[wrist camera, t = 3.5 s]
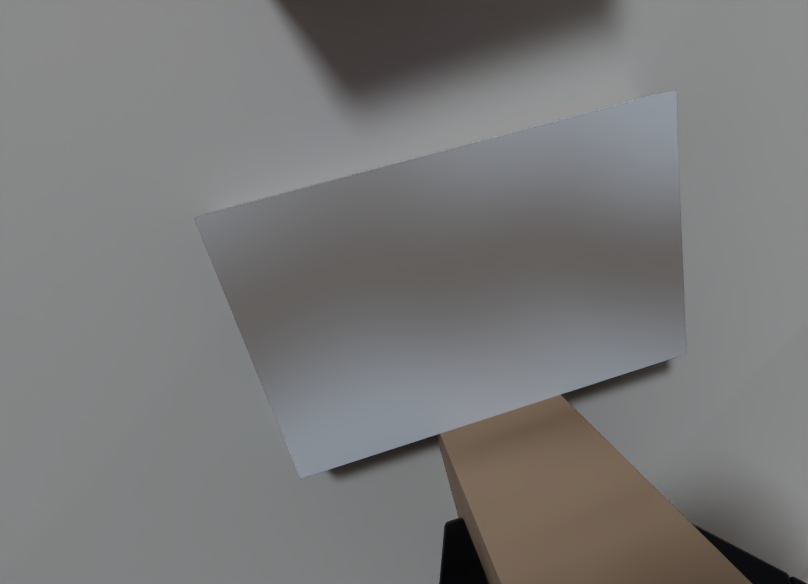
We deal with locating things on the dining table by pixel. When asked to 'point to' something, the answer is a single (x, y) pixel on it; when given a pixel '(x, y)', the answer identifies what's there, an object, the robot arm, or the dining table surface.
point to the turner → (484, 331)
